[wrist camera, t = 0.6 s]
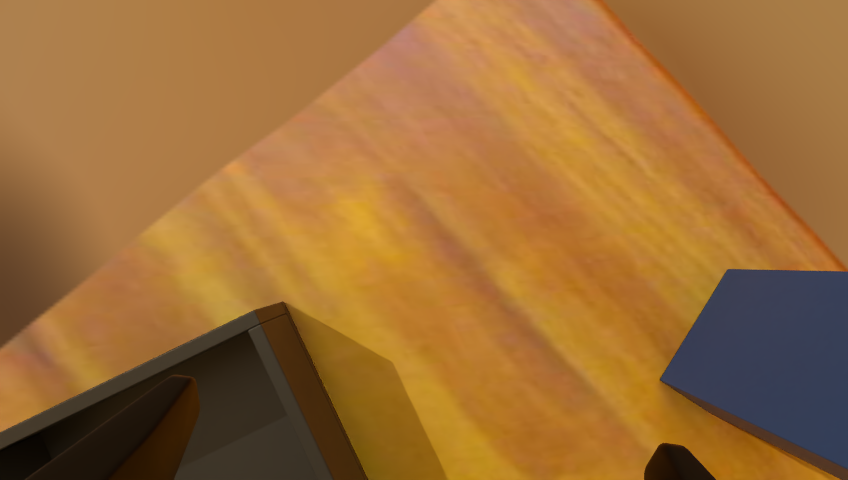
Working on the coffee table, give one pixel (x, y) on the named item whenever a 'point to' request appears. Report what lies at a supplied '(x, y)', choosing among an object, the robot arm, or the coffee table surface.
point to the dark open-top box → (215, 409)
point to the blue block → (774, 361)
